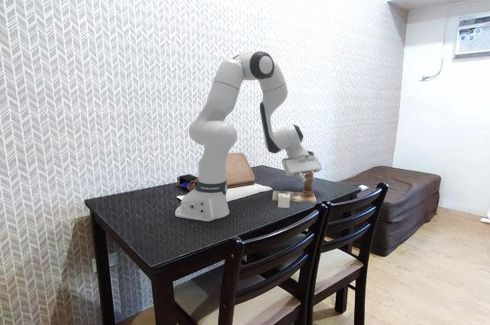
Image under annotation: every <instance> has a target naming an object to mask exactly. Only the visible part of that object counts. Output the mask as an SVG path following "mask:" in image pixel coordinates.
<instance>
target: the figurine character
mask: <svg viewBox="0 0 490 325" xmlns="http://www.w3.org/2000/svg"><path fill="white" fill-rule="evenodd" d="M197 178H199V176H196V175H193V174H190V173H188V174H183V175H179V176H178V177H176V181H177V183H178V184H179V186H180V187H181V188H187V190H189V192H190V191H192V190H193V189H194V187H193V184H194V182H195V180H196V179H197Z"/></svg>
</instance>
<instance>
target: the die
mask: <svg viewBox="0 0 490 325" xmlns="http://www.w3.org/2000/svg"><path fill="white" fill-rule="evenodd" d="M277 202H278V203H277V208H284V209H290V202H291V201H290V194H282V193H279V196H278V201H277Z"/></svg>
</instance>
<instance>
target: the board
mask: <svg viewBox="0 0 490 325" xmlns="http://www.w3.org/2000/svg"><path fill="white" fill-rule="evenodd" d="M279 193H282V194H290V202H295V203H296V202H297V203H310V204H312V203H313V204H314V203H315V204H316V203H317V199H316V198H317V197H316V196H315V192H313V194H305V193H303V192H302V191H285V190H273V192H272V201H274V202H275V201H276V202H278V196H279Z"/></svg>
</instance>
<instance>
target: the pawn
mask: <svg viewBox="0 0 490 325" xmlns="http://www.w3.org/2000/svg"><path fill="white" fill-rule="evenodd" d="M304 177H306V179H307V181H306V182H303V183H304V184H303V185H304V186H303V189H301V190H302V191H301V192H303V193H305V194H313V193H314V189H313V181H312V178H313V176H312V173H311V172H307V173H306V174H304Z"/></svg>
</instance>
